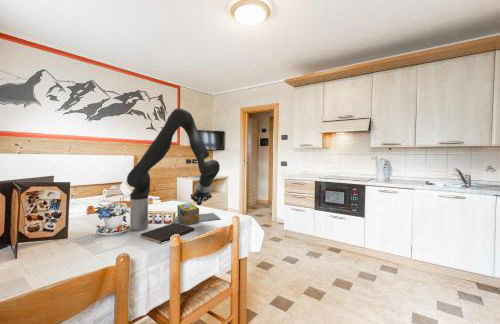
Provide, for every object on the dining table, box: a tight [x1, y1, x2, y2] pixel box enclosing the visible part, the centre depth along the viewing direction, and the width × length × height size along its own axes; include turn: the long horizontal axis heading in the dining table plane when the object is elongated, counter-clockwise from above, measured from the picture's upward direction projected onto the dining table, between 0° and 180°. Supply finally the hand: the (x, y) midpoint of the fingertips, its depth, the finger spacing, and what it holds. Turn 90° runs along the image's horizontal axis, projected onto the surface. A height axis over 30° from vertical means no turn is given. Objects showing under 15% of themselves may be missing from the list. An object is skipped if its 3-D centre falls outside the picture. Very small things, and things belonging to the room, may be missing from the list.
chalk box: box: [177, 202, 200, 226], centre depth 153 cm, size 9×9×15 cm
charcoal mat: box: [171, 212, 222, 225], centre depth 159 cm, size 30×16×1 cm, turn 115°
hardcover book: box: [139, 223, 196, 244], centre depth 131 cm, size 16×23×2 cm
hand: (198, 204), depth 149 cm, fingers closed
